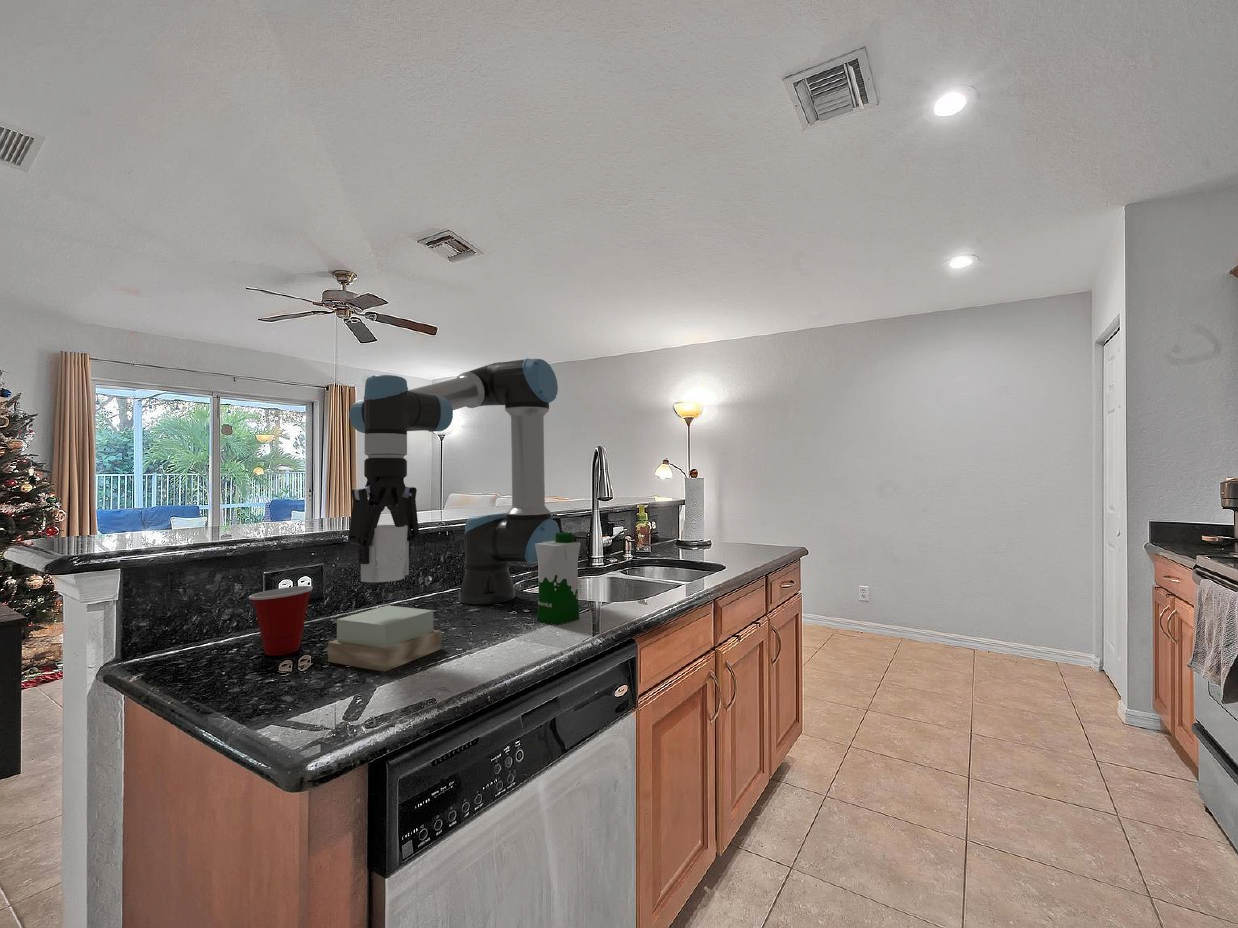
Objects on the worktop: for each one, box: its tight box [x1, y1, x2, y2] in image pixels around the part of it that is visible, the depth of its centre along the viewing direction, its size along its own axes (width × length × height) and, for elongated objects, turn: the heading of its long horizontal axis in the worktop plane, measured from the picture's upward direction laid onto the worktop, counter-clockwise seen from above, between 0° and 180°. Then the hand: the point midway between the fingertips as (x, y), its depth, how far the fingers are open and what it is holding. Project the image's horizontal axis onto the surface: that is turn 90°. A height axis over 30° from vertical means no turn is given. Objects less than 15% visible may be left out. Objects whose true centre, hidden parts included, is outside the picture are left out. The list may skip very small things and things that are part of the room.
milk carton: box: [535, 532, 581, 626], centre depth 132 cm, size 9×9×20 cm
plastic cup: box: [248, 585, 313, 657], centre depth 110 cm, size 11×11×12 cm
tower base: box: [327, 629, 442, 672], centre depth 107 cm, size 14×14×4 cm
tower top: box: [336, 605, 434, 648], centre depth 108 cm, size 12×12×4 cm
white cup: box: [365, 524, 408, 583], centre depth 107 cm, size 8×8×10 cm
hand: (385, 577), depth 107 cm, fingers closed on white cup, 7 cm apart
